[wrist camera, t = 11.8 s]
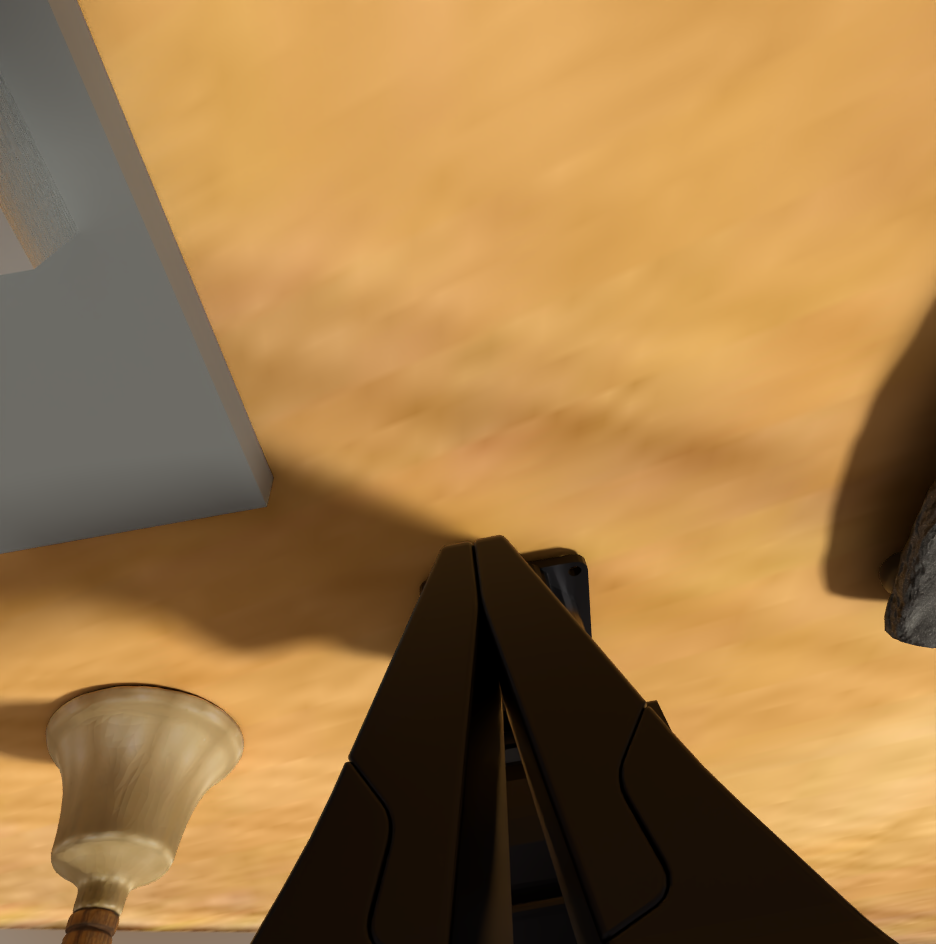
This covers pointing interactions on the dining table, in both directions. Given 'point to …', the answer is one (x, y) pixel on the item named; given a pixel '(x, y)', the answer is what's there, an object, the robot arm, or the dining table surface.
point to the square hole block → (27, 196)
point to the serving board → (914, 581)
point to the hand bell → (130, 791)
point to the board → (106, 327)
